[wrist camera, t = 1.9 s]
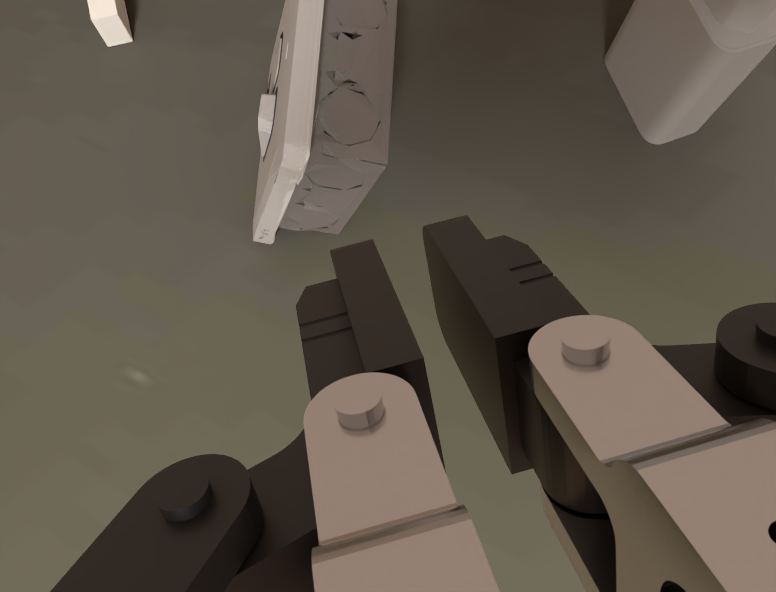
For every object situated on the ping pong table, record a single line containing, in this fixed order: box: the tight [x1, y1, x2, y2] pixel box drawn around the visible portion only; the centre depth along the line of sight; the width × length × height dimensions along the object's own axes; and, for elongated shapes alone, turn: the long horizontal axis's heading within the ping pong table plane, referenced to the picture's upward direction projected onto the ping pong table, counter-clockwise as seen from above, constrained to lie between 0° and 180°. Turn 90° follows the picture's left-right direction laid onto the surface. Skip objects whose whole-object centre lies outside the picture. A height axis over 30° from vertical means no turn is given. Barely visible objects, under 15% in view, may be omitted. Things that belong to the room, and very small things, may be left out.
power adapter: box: [605, 0, 776, 144], centre depth 27 cm, size 3×5×12 cm, turn 20°
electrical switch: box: [253, 0, 398, 244], centre depth 28 cm, size 9×5×9 cm, turn 177°
